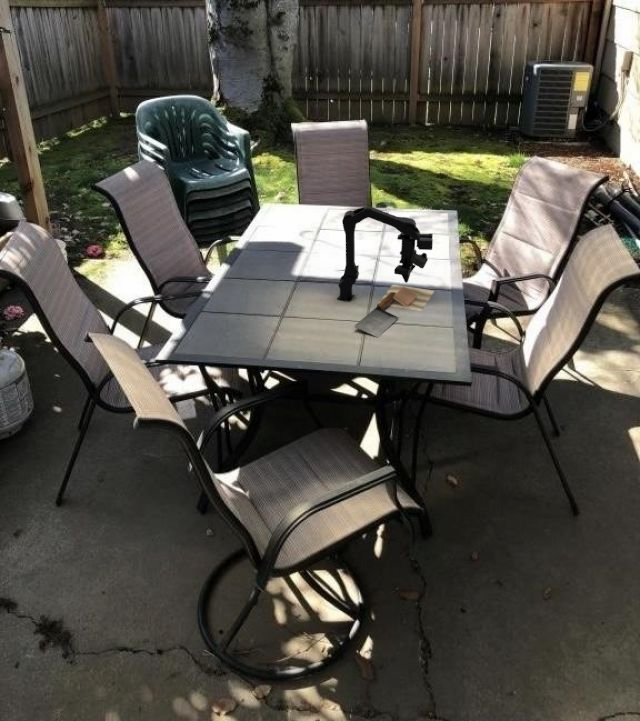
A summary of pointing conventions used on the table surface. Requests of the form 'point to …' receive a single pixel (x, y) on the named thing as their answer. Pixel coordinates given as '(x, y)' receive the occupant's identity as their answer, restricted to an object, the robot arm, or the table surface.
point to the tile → (405, 296)
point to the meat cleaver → (378, 318)
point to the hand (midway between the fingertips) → (406, 282)
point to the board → (418, 303)
